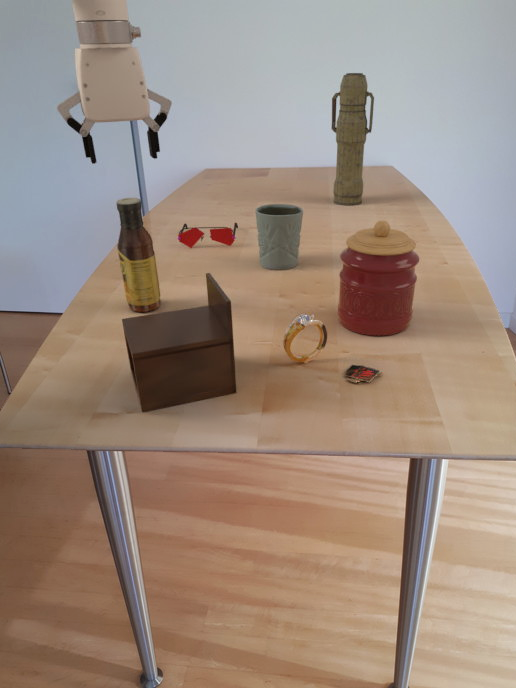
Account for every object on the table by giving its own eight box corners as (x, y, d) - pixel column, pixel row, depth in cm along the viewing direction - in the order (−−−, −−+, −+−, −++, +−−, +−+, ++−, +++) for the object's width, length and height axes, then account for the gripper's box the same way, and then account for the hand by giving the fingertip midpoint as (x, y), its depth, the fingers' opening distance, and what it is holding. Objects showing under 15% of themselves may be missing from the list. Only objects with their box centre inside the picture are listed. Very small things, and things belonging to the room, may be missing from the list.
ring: (288, 371, 82) (288, 323, 78) (280, 361, 84) (280, 314, 80) (330, 362, 84) (332, 315, 80) (321, 353, 87) (322, 306, 82)
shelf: (142, 412, 73) (125, 317, 66) (131, 373, 82) (115, 285, 75) (236, 392, 77) (231, 301, 70) (216, 357, 86) (209, 272, 79)
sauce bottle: (133, 300, 105) (116, 194, 95) (165, 300, 105) (151, 194, 95) (123, 314, 100) (104, 204, 89) (157, 314, 99) (142, 204, 89)
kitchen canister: (427, 326, 94) (441, 224, 85) (367, 344, 89) (375, 237, 80) (379, 300, 104) (388, 206, 95) (322, 315, 99) (326, 217, 90)
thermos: (329, 197, 174) (334, 72, 156) (367, 199, 172) (376, 72, 154) (326, 204, 166) (331, 74, 148) (365, 206, 165) (375, 74, 147)
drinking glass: (247, 263, 122) (245, 209, 116) (279, 252, 128) (279, 200, 122) (280, 274, 116) (279, 218, 110) (311, 262, 122) (312, 208, 116)
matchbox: (349, 365, 83) (349, 362, 83) (383, 370, 81) (383, 368, 81) (342, 381, 79) (342, 378, 79) (377, 386, 78) (377, 384, 77)
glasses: (178, 249, 131) (175, 228, 129) (186, 229, 146) (184, 210, 143) (236, 248, 132) (235, 227, 129) (238, 228, 146) (237, 209, 143)
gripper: (159, 36, 86) (172, 151, 95) (42, 37, 81) (67, 160, 90) (168, 35, 80) (181, 159, 89) (42, 37, 75) (69, 168, 84)
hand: (124, 159), depth 89 cm, fingers open, 9 cm apart
